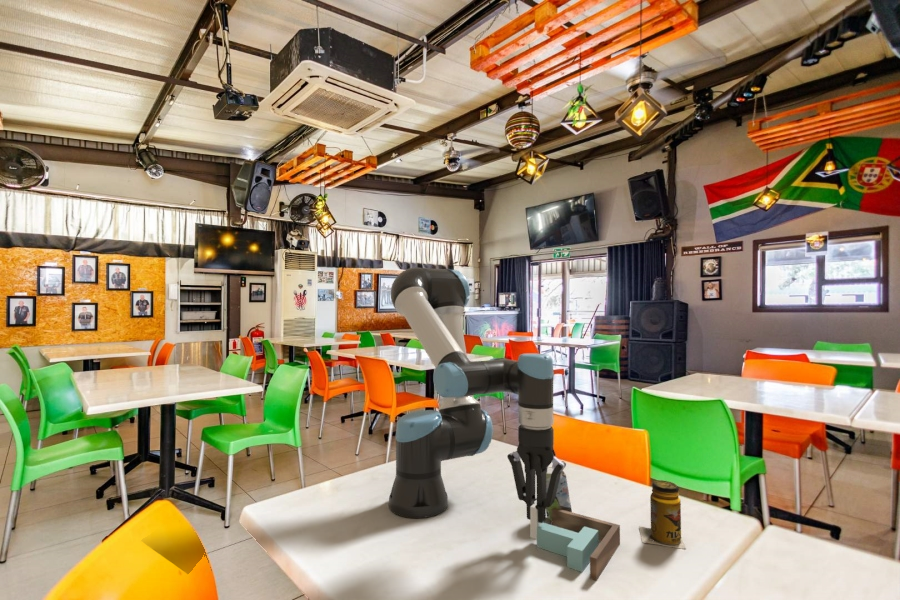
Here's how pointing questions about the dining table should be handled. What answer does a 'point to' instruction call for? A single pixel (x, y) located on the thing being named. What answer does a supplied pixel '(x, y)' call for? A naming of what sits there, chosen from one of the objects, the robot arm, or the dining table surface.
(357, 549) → the dining table surface
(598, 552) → the corner fence
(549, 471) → the beverage can
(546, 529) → the t block
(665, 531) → the condiment
